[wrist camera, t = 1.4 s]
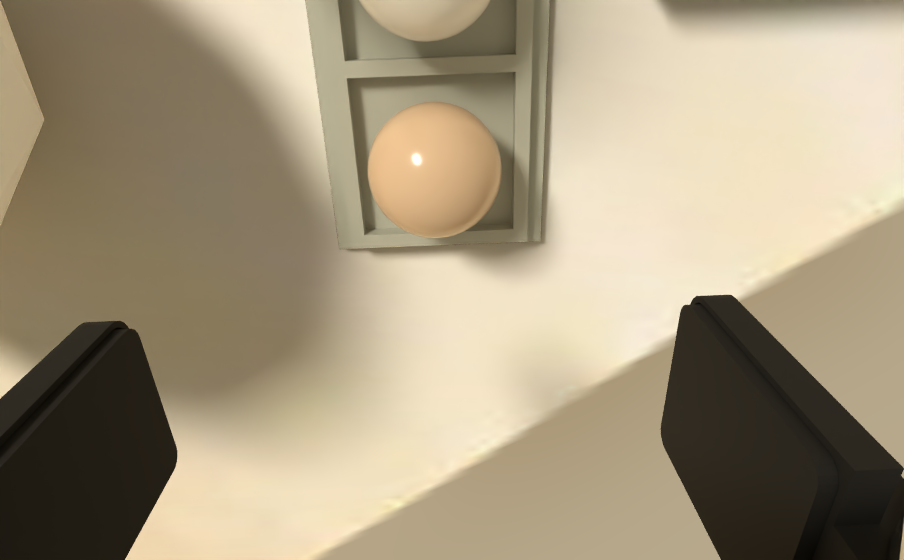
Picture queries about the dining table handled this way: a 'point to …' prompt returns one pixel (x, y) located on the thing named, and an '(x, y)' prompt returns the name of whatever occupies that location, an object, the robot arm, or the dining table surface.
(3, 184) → the polyhedron
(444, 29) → the white egg
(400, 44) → the carton
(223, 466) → the dining table surface
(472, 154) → the brown egg
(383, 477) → the dining table surface
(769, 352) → the robot arm
